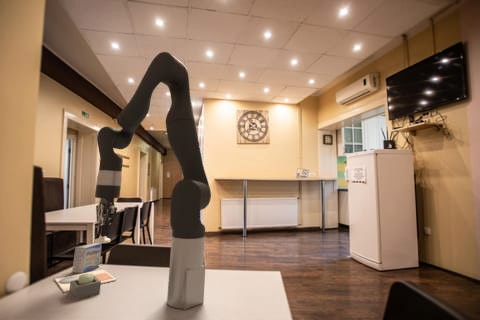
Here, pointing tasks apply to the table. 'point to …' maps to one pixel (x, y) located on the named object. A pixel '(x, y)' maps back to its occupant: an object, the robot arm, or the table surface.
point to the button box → (84, 289)
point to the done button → (85, 279)
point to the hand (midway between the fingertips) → (102, 235)
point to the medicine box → (86, 257)
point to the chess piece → (102, 238)
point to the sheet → (99, 274)
